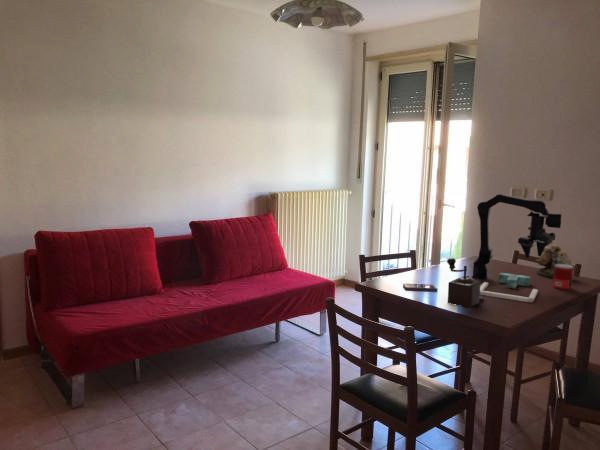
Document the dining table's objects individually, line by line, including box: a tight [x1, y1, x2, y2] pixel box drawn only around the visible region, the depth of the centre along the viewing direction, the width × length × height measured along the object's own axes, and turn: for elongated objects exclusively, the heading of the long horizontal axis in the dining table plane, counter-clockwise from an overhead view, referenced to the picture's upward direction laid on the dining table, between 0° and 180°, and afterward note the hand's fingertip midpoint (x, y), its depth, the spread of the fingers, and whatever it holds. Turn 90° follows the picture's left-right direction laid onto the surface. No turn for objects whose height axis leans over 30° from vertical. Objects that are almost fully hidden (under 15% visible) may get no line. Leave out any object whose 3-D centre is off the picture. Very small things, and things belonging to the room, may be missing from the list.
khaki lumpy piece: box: [535, 244, 572, 279], centre depth 263 cm, size 18×12×17 cm, turn 40°
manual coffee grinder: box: [446, 257, 481, 308], centre depth 217 cm, size 16×11×18 cm
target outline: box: [480, 281, 539, 304], centre depth 231 cm, size 24×18×2 cm
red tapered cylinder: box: [552, 264, 574, 291], centre depth 241 cm, size 8×8×11 cm
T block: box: [498, 272, 531, 289], centre depth 245 cm, size 14×12×4 cm
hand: (533, 257), depth 246 cm, fingers open, 9 cm apart
